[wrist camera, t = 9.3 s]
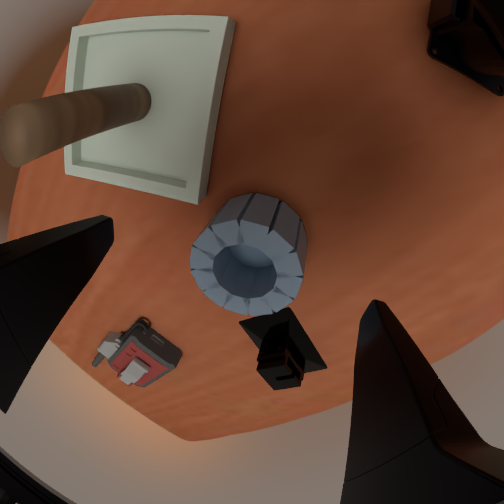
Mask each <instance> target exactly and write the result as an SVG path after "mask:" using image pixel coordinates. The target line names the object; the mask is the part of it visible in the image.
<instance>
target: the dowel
mask: <svg viewBox="0 0 504 504" xmlns="http://www.w3.org/2000/svg"><path fill="white" fill-rule="evenodd" d="M150 108H151V95H150V92H149V90H148V89H147V88H146V87H145V86H144V85H142V84H139V83H130V84H120V85H112V86H104V87H97V88H90V89H84V90H78V91H73V92H68V93H63V94H58V95H53V96H49V97H44V98H40V99H36V100H32V101H28V102H25V103H21V104H17V105H14V106H11V107H8V108H7V109H6V110H5V111H4V112H3V114H2V116H1V119H0V148H1V152H2V154H3V156H4V158H5V159H6V161H7V162H8V163H9V164H10V165H11V166H13V167H20V166H22V165H24V164H26V163H28V162H30V161H32V160H35V159H37V158H39V157H41V156H43V155H46V154H48V153H50V152H52V151H55V150H57V149H60V148H62V147H64V146H67V145H69V144H72V143H74V142H77V141H80V140H82V139H85V138H88V137H90V136H93V135H96V134H99V133H102V132H105V131H107V130H110V129H113V128H117V127H120V126H123V125H126V124H129V123H133V122H136V121H139V120H141V119H143V118H144V117H145V116H146V115H147V114H148V112H149V110H150Z"/></svg>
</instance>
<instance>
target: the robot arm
mask: <svg viewBox="0 0 504 504" xmlns="http://www.w3.org/2000/svg"><path fill="white" fill-rule="evenodd" d="M428 26H429V28H430V29H431V32H430V37H429V43H428V47H427V52H428V55H429V56H430V57H431V58H433V59H435V60H437V61H439V62H441V63H443V64H445V65H447V66H449V67H451V68H452V69H454V70H456V71H458V72H460V73H462V74H463V75H465V76H467V77H468V78H470V79H472V80H474V81H475V82H477V83H478V84H480V85H482V86H483V87H485V88H486V89H488V90H489V91H491V92H492V93H494V94H495V95H498V96H503V95H504V0H432V1H431V7H430V14H429V20H428ZM433 49H435V50H436V51H437V55H435V54H434V53H433ZM498 86H499V88H500V91H498V89H497V87H498ZM113 241H114V228H113V220H112V218H111V217H108V216H104V215H100V216H96V217H92V218H88V219H84V220H81V221H77V222H73V223H69V224H66V225H62V226H59V227H55V228H52V229H48V230H45V231H41V232H38V233H35V234H31V235H28V236H25V237H22V238H19V239H18V240H17V239H15V240H12V241H9V242H6V243H3V244H0V410H1V411H3V412H4V413H5V414H6V412H7V411H8V409H9V407H10V405H11V403H12V401H13V399H14V398H15V396H16V394H17V392H18V390H19V388H20V386H21V385H22V383H23V381H24V379H25V377H26V376H27V374H28V372H29V370H30V369H31V366H32V365H33V363H34V362H35V360H36V358H37V357H38V355H39V353H40V352H41V350H42V349H43V347H44V345H45V344H46V342H47V341H48V339H49V338H50V336H51V335H52V333H53V331H54V330H55V328H56V327H57V325H58V324H59V322H60V321H61V319H62V318H63V317H64V315H65V314H66V312H67V311H68V309H69V308H70V306H71V305H72V304H73V302H74V301H75V299H76V298H77V297H78V295H79V294H80V292H81V291H82V290H83V288H84V287H85V286H86V284H87V283H88V282H89V280H90V279H91V277H92V276H93V274H94V273H95V271H96V270H97V268H98V266H99V265H100V263H101V262H102V260H103V258H104V257H105V255H106V254H107V252H108V250H109V249H110V247H111V246H112V244H113ZM15 503H17V504H76V503H75V502H73V501H71V500H70V499H68V498H66V497H65V496H63V495H62V494H60V493H59V492H57V491H56V490H54V489H53V488H52V487H50V486H48V485H47V484H46V483H44V482H43V481H42V480H40V479H39V478H38V477H36V476H35V475H33V474H32V473H31V472H30V471H28V470H27V469H26V468H25V467H23V466H22V465H21V464H20V463H19V462H17V461H16V460H15V459H14V458H12V456H10V455H9V454H8V453H7V452H6V451H5V450H4V449H2V448H1V447H0V504H15ZM340 504H504V450H502V449H499V448H496V447H493V446H491V445H489V444H488V443H486V442H485V441H484V440H483V439H482V438H481V437H480V436H479V434H478V433H477V431H476V430H475V429H474V427H473V426H472V424H471V423H470V422H469V420H468V419H467V418H466V416H465V415H464V413H463V412H462V411H461V409H460V408H459V407H458V405H457V404H456V402H455V401H454V400H453V398H452V397H451V395H450V394H449V392H448V391H447V389H446V388H445V386H444V385H443V384H442V382H441V380H440V379H438V376H437V374H436V373H435V371H434V370H433V368H432V367H431V365H430V364H429V362H428V361H427V360H426V358H425V357H424V355H423V354H422V352H421V351H420V349H419V348H418V347H417V345H416V344H415V342H414V341H413V340H412V338H411V337H410V335H409V334H408V333H407V331H406V330H405V329H404V327H403V326H402V324H401V323H400V322H399V320H398V319H397V318H396V316H395V315H394V314H393V312H392V311H391V310H390V308H389V307H388V306H387V304H386V303H385V302H383V301H379V300H376V299H374V300H372V301H371V303H370V304H369V306H368V308H367V309H366V311H365V312H364V314H363V316H362V318H361V320H360V325H359V333H358V341H357V348H356V355H355V364H354V384H353V403H352V416H351V427H350V438H349V447H348V455H347V463H346V471H345V478H344V484H343V489H342V496H341V502H340Z"/></svg>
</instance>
